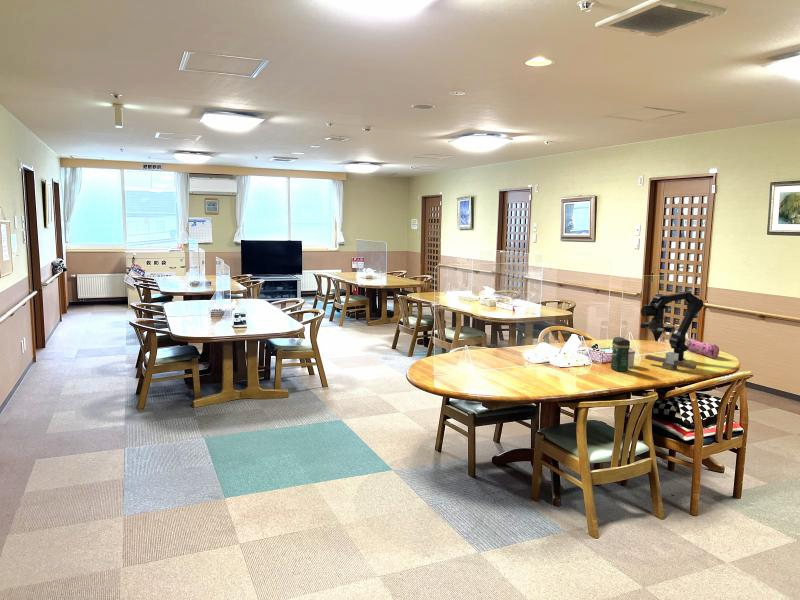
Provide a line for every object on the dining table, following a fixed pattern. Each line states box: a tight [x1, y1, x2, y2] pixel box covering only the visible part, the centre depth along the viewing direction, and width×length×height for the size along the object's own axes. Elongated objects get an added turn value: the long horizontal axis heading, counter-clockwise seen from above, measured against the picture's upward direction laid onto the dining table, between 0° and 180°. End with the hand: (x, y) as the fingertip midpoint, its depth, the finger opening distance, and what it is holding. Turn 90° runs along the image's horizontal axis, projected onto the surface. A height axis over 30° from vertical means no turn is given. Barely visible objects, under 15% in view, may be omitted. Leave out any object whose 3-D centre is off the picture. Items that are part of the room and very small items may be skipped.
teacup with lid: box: [628, 347, 636, 368], centre depth 344 cm, size 12×9×12 cm
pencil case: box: [685, 337, 720, 359], centre depth 374 cm, size 21×9×9 cm, turn 16°
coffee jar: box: [610, 336, 631, 373], centre depth 334 cm, size 10×8×19 cm
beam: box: [644, 354, 698, 371], centre depth 340 cm, size 6×28×5 cm, turn 42°
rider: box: [664, 351, 679, 365], centre depth 339 cm, size 5×5×6 cm
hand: (656, 341), depth 356 cm, fingers closed
